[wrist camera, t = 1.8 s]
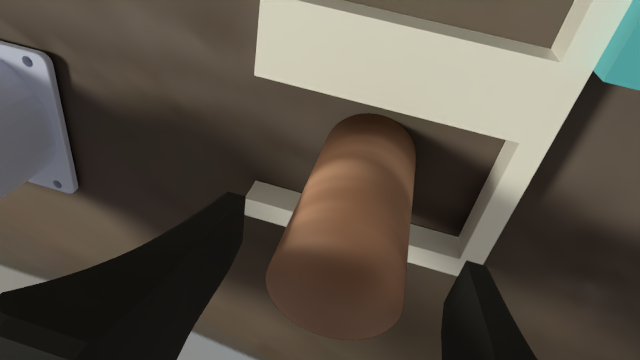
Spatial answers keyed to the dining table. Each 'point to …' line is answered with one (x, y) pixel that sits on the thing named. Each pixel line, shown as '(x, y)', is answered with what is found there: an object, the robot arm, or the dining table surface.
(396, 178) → the peg
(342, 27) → the slot rack
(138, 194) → the dining table surface
